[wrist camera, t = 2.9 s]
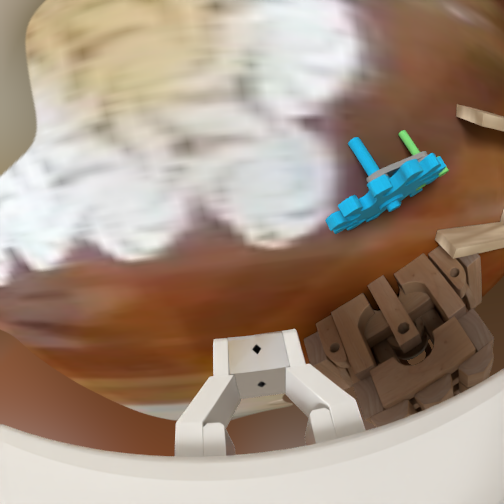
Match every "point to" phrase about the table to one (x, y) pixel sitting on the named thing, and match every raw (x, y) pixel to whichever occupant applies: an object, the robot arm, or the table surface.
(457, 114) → the drawer
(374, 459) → the robot arm
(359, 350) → the wooden puzzle
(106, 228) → the table surface
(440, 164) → the gear
